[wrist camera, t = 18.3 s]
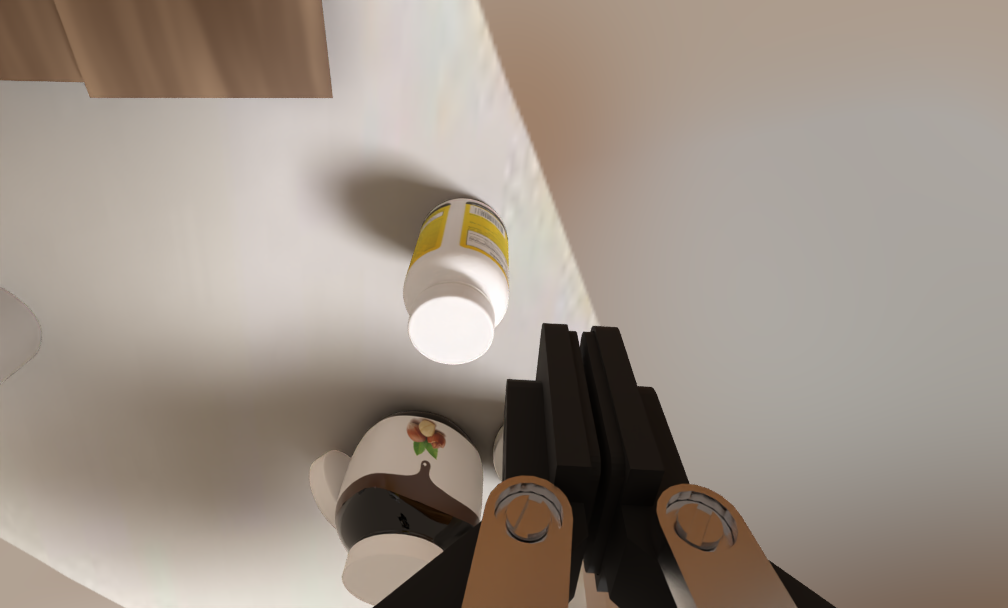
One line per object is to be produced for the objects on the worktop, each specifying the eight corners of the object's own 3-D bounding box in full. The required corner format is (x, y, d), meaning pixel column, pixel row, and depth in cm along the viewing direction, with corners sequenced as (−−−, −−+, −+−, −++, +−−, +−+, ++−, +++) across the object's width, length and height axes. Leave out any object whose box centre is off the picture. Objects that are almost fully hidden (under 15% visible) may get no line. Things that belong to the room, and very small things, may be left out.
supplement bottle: (426, 275, 32) (399, 377, 24) (416, 196, 29) (381, 281, 21) (509, 274, 32) (509, 375, 24) (507, 194, 29) (507, 279, 21)
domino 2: (319, -23, 22) (37, -44, 19) (332, 98, 25) (90, 97, 21) (317, -25, 23) (56, -44, 20) (330, 89, 26) (103, 87, 23)
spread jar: (498, 439, 41) (494, 582, 31) (429, 505, 46) (408, 647, 37) (367, 375, 37) (317, 516, 28) (308, 456, 43) (249, 598, 33)
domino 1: (186, -39, 22) (-121, -67, 18) (213, 85, 24) (-50, 78, 21) (194, -39, 23) (-89, -65, 20) (219, 77, 26) (-26, 70, 23)
